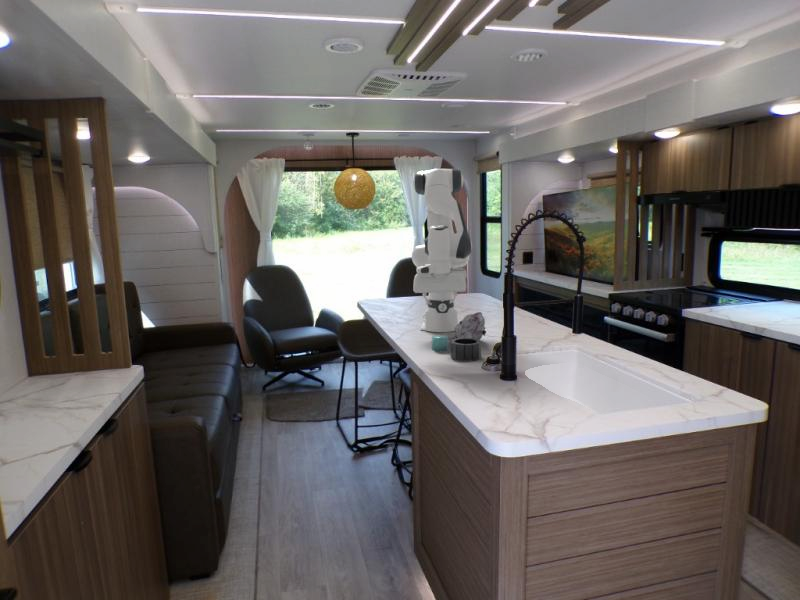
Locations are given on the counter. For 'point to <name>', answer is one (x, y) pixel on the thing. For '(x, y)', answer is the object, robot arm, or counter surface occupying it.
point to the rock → (471, 327)
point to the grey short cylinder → (465, 349)
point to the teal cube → (439, 343)
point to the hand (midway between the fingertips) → (439, 303)
